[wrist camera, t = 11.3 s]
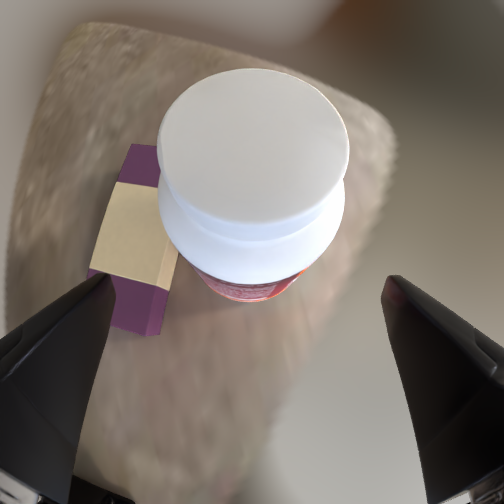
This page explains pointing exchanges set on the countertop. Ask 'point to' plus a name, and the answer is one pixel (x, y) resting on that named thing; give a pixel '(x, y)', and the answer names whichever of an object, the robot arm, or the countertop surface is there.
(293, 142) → the pill bottle
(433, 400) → the robot arm
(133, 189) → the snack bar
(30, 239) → the countertop surface
